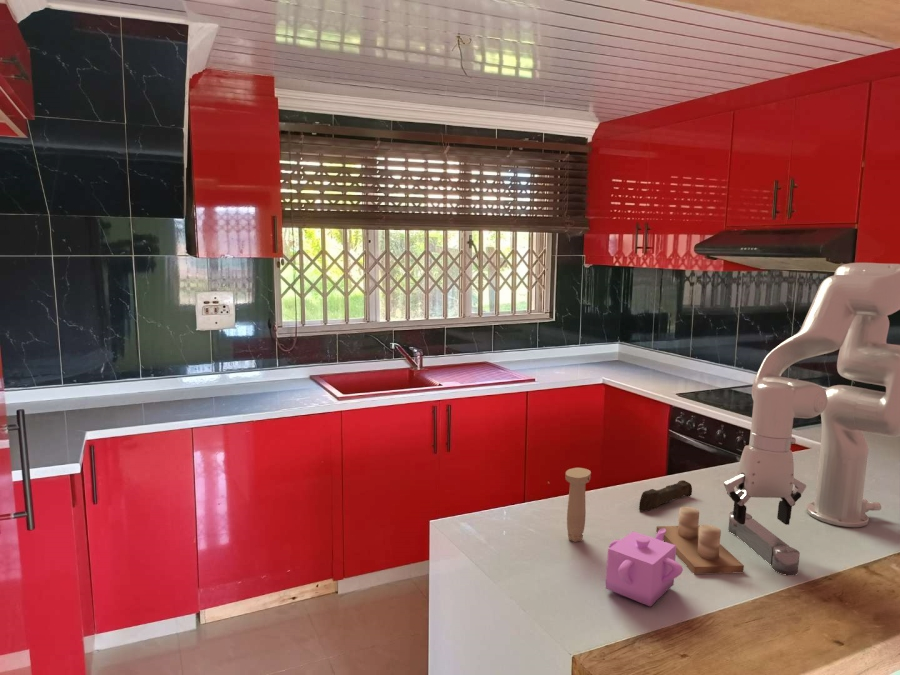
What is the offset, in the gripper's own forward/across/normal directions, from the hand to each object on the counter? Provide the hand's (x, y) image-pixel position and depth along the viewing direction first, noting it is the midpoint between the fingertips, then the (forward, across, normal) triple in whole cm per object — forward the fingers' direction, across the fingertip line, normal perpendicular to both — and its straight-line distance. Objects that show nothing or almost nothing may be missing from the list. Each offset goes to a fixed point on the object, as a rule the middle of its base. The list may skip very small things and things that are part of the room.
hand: (761, 521), depth 132 cm
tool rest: (+7, +13, 0) cm, 15 cm away
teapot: (+8, +30, +14) cm, 34 cm away
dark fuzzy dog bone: (+7, +9, -25) cm, 28 cm away
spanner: (+6, -1, 0) cm, 6 cm away
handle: (+7, +37, -8) cm, 39 cm away
